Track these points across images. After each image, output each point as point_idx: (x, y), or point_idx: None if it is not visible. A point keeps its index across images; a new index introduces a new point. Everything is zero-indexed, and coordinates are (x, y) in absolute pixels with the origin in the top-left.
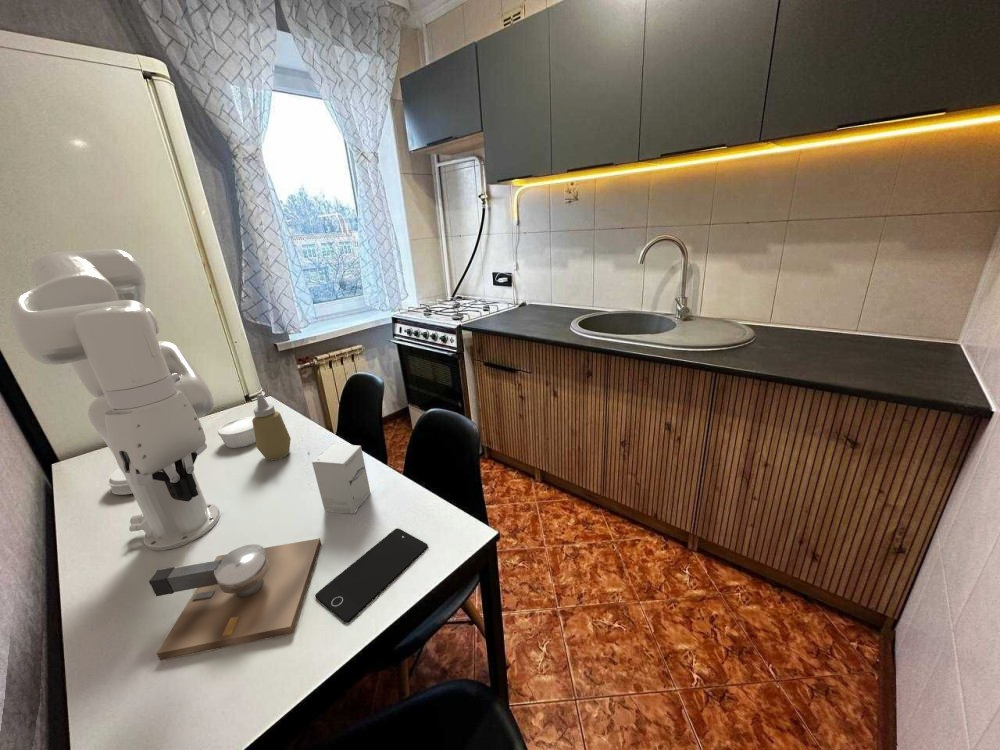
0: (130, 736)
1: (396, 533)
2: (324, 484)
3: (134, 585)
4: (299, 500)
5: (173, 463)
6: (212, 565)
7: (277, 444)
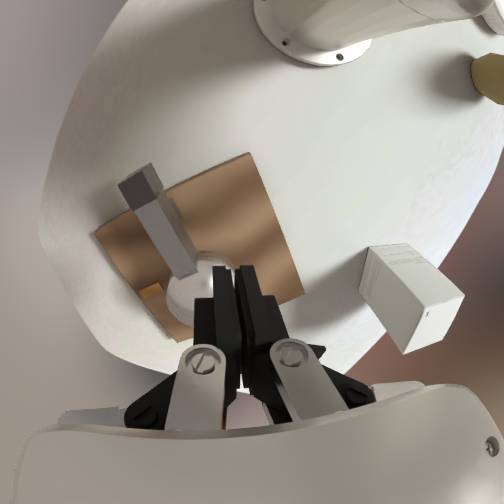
0: (58, 272)
1: (317, 353)
2: (393, 290)
3: (176, 46)
4: (395, 185)
5: (285, 397)
6: (182, 266)
7: (497, 95)
